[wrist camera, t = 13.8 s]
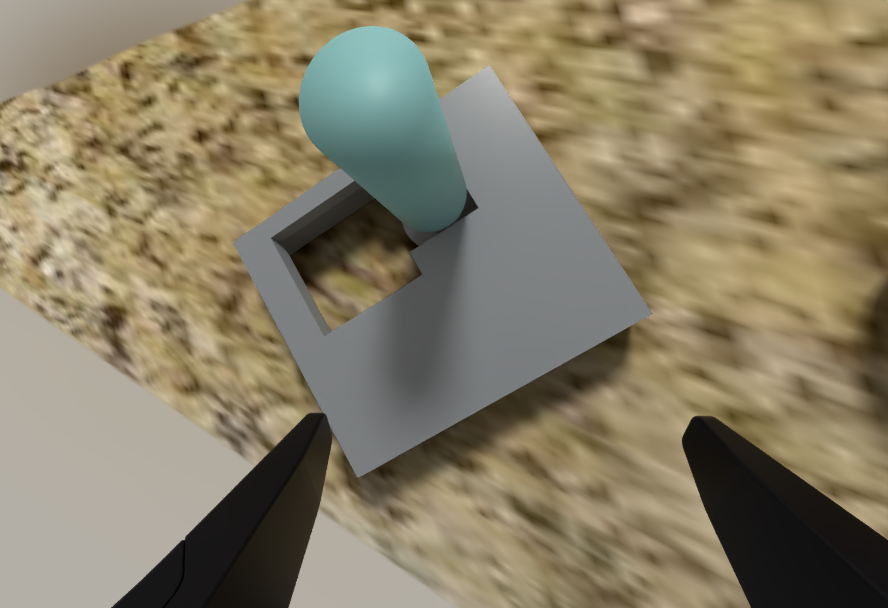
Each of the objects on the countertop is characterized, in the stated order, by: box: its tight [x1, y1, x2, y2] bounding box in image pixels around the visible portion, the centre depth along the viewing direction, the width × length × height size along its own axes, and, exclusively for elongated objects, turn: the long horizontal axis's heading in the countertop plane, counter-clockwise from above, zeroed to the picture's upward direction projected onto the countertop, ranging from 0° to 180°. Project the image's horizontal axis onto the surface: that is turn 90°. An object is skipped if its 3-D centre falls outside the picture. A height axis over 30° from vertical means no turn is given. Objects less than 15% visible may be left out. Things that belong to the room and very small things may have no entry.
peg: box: [299, 26, 477, 246], centre depth 16 cm, size 4×4×12 cm
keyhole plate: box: [233, 65, 653, 478], centre depth 20 cm, size 14×16×3 cm
